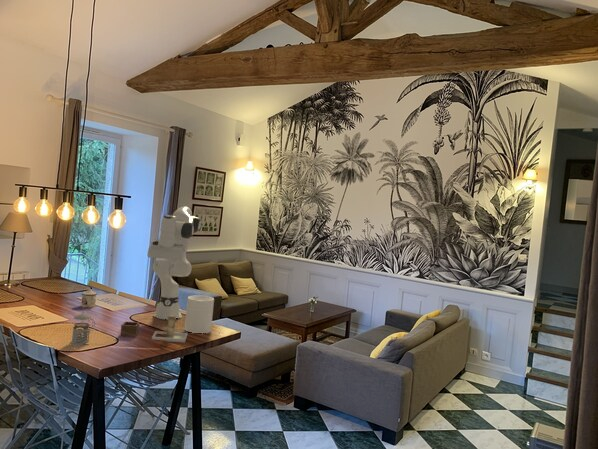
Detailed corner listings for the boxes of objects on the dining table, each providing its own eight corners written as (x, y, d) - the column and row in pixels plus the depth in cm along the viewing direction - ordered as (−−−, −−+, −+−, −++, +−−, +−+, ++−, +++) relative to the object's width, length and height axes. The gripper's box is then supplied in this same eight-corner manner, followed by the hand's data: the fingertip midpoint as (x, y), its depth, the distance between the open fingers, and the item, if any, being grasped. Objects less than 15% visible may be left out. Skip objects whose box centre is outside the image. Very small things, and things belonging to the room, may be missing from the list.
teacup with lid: (78, 305, 298) (79, 288, 298) (90, 304, 306) (92, 287, 306) (87, 309, 292) (89, 292, 292) (100, 307, 299) (102, 290, 299)
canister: (190, 325, 279) (193, 294, 278) (214, 328, 277) (217, 297, 277) (180, 331, 263) (183, 298, 262) (206, 335, 261) (209, 302, 261)
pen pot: (123, 333, 248) (124, 321, 248) (138, 334, 249) (139, 322, 249) (120, 337, 240) (121, 325, 240) (135, 338, 241) (136, 326, 241)
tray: (155, 334, 253) (155, 331, 253) (187, 336, 255) (187, 332, 255) (151, 340, 241) (151, 337, 241) (185, 342, 244) (185, 339, 244)
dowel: (166, 336, 250) (168, 315, 249) (174, 336, 250) (176, 315, 250) (165, 338, 246) (167, 317, 245) (173, 338, 246) (175, 317, 246)
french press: (65, 342, 224) (69, 294, 223) (87, 338, 234) (91, 292, 233) (76, 347, 218) (80, 297, 218) (97, 343, 228) (102, 295, 227)
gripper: (185, 244, 260) (183, 267, 261) (150, 240, 257) (147, 264, 257) (184, 245, 254) (182, 268, 254) (148, 241, 251) (145, 265, 251)
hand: (164, 266), depth 256 cm, fingers open, 8 cm apart
